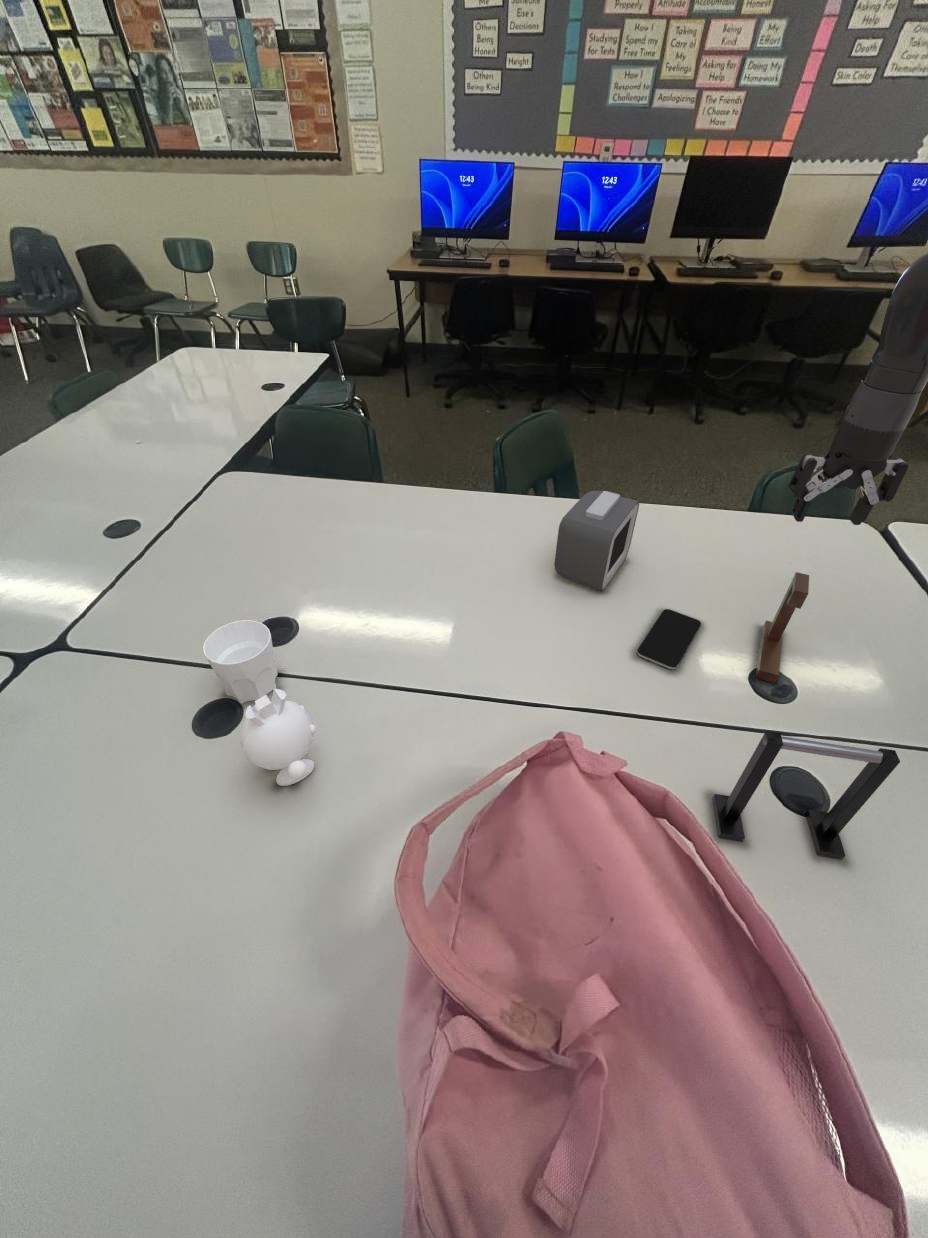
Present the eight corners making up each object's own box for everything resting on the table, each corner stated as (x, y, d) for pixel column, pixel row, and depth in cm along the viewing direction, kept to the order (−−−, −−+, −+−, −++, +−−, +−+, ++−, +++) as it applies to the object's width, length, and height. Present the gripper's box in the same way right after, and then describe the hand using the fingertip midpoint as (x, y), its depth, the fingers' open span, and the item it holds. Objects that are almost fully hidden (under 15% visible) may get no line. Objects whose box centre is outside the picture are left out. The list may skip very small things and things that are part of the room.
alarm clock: (600, 596, 112) (613, 528, 101) (548, 578, 116) (556, 512, 106) (627, 556, 122) (642, 491, 112) (579, 541, 127) (589, 477, 116)
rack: (828, 816, 76) (894, 735, 64) (842, 859, 71) (915, 780, 60) (712, 797, 78) (755, 715, 66) (718, 837, 73) (765, 757, 62)
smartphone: (703, 621, 105) (676, 669, 95) (702, 624, 105) (675, 671, 96) (664, 607, 108) (635, 652, 98) (663, 610, 108) (634, 654, 99)
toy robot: (343, 787, 79) (326, 720, 69) (278, 824, 75) (250, 759, 65) (300, 719, 88) (279, 651, 79) (239, 749, 84) (210, 681, 74)
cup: (296, 678, 95) (284, 635, 88) (248, 717, 89) (231, 673, 82) (256, 655, 99) (242, 612, 93) (208, 690, 93) (189, 647, 86)
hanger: (779, 633, 103) (813, 565, 93) (774, 683, 94) (811, 614, 84) (762, 628, 104) (793, 560, 94) (755, 677, 95) (789, 608, 85)
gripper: (831, 427, 75) (786, 531, 86) (944, 431, 74) (884, 536, 85) (811, 406, 81) (771, 506, 91) (916, 410, 80) (863, 511, 90)
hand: (825, 520), depth 88 cm, fingers open, 8 cm apart
